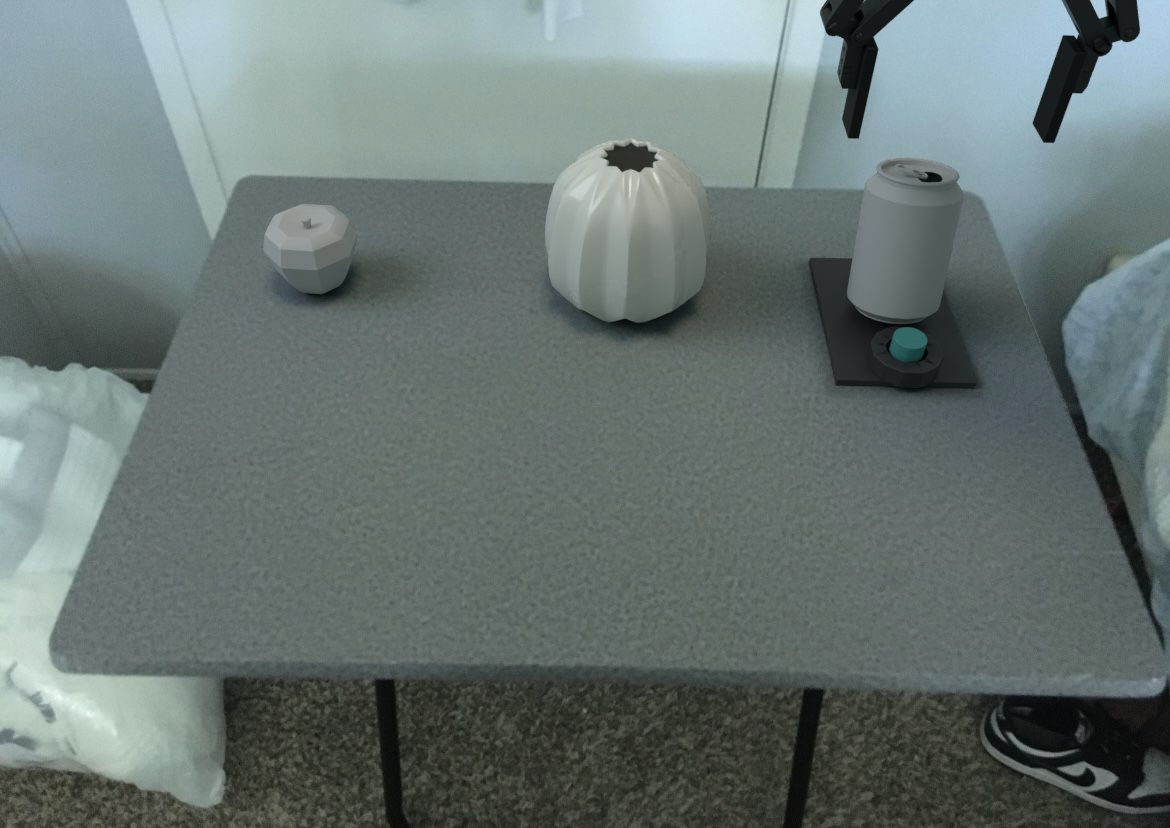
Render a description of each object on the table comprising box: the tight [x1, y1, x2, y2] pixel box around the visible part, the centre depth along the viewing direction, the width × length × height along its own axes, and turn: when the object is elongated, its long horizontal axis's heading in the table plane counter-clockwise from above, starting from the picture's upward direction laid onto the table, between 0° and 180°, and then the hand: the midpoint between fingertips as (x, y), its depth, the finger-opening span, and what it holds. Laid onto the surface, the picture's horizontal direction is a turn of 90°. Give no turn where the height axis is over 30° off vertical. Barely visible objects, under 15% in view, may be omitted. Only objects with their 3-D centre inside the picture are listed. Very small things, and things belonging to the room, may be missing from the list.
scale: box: [808, 257, 978, 389], centre depth 86 cm, size 17×11×2 cm, turn 179°
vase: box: [544, 137, 712, 324], centre depth 84 cm, size 14×14×13 cm
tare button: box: [889, 327, 927, 363], centre depth 81 cm, size 3×3×2 cm
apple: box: [262, 203, 359, 295], centre depth 87 cm, size 8×8×7 cm
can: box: [847, 157, 965, 324], centre depth 83 cm, size 8×8×12 cm
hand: (946, 131), depth 73 cm, fingers open, 13 cm apart
